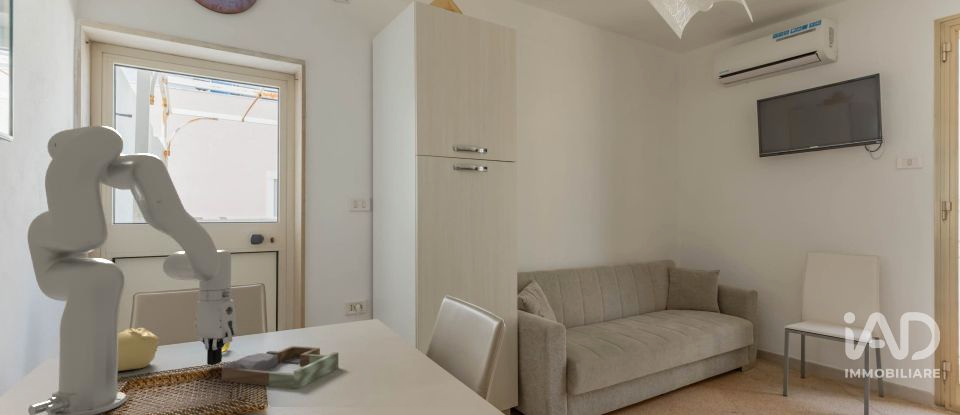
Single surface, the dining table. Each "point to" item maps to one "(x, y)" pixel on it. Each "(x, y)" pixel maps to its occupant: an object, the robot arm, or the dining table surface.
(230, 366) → the stone block
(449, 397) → the dining table surface
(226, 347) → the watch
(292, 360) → the trap pit pad
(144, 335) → the sculpture
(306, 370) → the channel
